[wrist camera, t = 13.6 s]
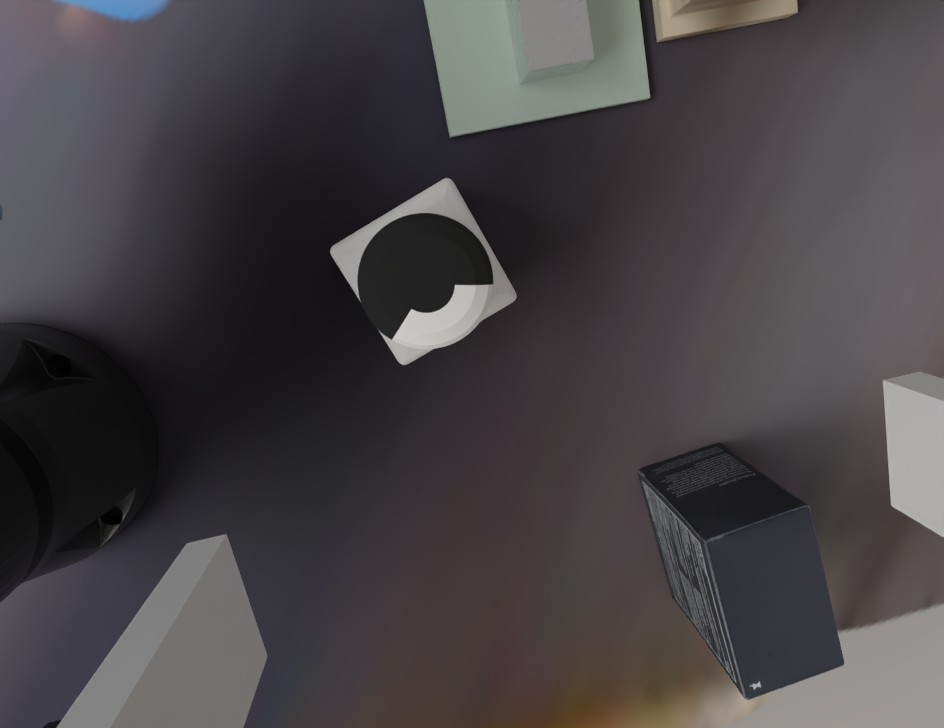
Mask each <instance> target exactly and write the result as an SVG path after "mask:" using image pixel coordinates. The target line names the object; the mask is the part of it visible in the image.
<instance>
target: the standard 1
mask: <svg viewBox="0 0 944 728" xmlns="http://www.w3.org/2000/svg"><path fill="white" fill-rule="evenodd" d="M652 4H653V13H654V21H655V30H656V39H657V43H658V42H663V41H668V40H673V39H679V38H684V37H689V36H694V35H700V34H705V33H710V32H715V31H721V30H726V29H731V28H736V27H742V26H747V25H752V24H757V23H763V22H768V21H773V20H779V19H784V18H788V17H790V16H792V15H794V14H796V13H798V7H797V0H652Z"/></svg>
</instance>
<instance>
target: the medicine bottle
mask: <svg viewBox="0 0 944 728" xmlns="http://www.w3.org/2000/svg"><path fill="white" fill-rule="evenodd" d="M330 253H331V256H332V257H333V259H334V261H335V262H336V264H337V265H338V267H339V269H340V270H341V272H342V273H343V275H344V276H345V278H346V280H347V281H348V283H349V284H350V286H351V288H352V289H353V291H354V292H355V294H356V295H357V297H358V299H359V300H360V302H361V304H362V306H363V309H364V311H365V313H366V315H367V316H368V318H369V319H370V321H371V322H372V323H373V325H374V326H375V327H376V328H377V329H378V330H379V332H380V333H381V335H382V337H383V338H384V340H385V341H386V343H387V345H388V346H389V348H390V349H391V351H392V353H393V354H394V356H395V357H396V359H397V360H398V362H399V363H400V364H402V365H407V364H409V363H411V362H413V361H414V360H416V359H418V358H419V357H421V356H423V355H424V354H426V353H428V352H429V351H431V350H433V349H435V348H440V347H445V346H448V345H450V344H453V343H455V342H457V341H459V340H461V339H462V338H464V337H465V336H467V335H468V334H469V333H470V332H471V331H472V330H473V329H474V328H476V326H477V325H478V324H479V323H480V321H482V320H484V319H485V318H487V317H489V316H490V315H492V314H494V313H496V312H497V311H499V310H501V309H502V308H504V307H506V306H507V305H509V304H511V303H512V302H514V301H515V300H516V297H517V295H516V292H515V290H514V288H513V286H512V285H511V283H510V281H509V279H508V278H507V276H506V274H505V272H504V271H503V269H502V267H501V265H500V263H499V262H498V260H497V258H496V256H495V255H494V253H493V251H492V249H491V248H490V246H489V244H488V242H487V240H486V239H485V237H484V235H483V233H482V232H481V230H480V228H479V226H478V225H477V223H476V221H475V219H474V217H473V216H472V214H471V212H470V210H469V209H468V207H467V205H466V203H465V202H464V200H463V198H462V196H461V194H460V193H459V191H458V189H457V187H456V186H455V184H454V182H453V181H452V180H451V179H448V178H445V179H442V180H441V181H439V182H438V183H436V184H434V185H433V186H431V187H429V188H428V189H426V190H424V191H423V192H421V193H419V194H418V195H416V196H414V197H413V198H411V199H409V200H408V201H406V202H404V203H403V204H401V205H399V206H398V207H396V208H394V209H393V210H391V211H389V212H388V213H386V214H384V215H383V216H381V217H379V218H378V219H376V220H374V221H373V222H371V223H369V224H368V225H366V226H365V227H363V228H361V229H360V230H358V231H356V232H355V233H353V234H351V235H350V236H348V237H346V238H345V239H343V240H341V241H340V242H338V243H336V244H335V245H333V246H332V247H331V250H330Z"/></svg>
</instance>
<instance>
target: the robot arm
mask: <svg viewBox="0 0 944 728" xmlns="http://www.w3.org/2000/svg"><path fill="white" fill-rule="evenodd" d="M2 211H3V210H2V208H1V205H0V220H2ZM883 389H884V404H885V420H886V435H887V451H888V466H889V482H890V497H891V506H892V507H894V508H896V509H897V510H899V511H901V512H902V513H904V514H906V515H907V516H909V517H911V518H912V519H914V520H915V521H917V522H919V523H920V524H922V525H924V526H925V527H927V528H929V529H930V530H932V531H934V532H935V533H937V534H939V535H940V536H942V537H944V379H943V378H939V377H936V376H933V375H929V374H926V373H923V372H916V373H912V374H907V375H903V376H899V377H894V378H890V379H886V380H883ZM157 463H158V443H157V435H156V430H155V426H154V422H153V419H152V416H151V413H150V411H149V409H148V406H147V404H146V402H145V400H144V398H143V397H142V395H141V393H140V392H139V390H138V388H137V387H136V386H135V384H134V383H133V382H132V380H131V379H130V378H129V377H128V375H127V374H126V373H125V372H124V371H123V370H122V369H121V368H120V367H119V366H118V365H117V364H116V363H115V362H114V361H113V360H111V359H110V358H109V357H108V356H106V355H105V354H104V353H103V352H101V351H100V350H98V349H97V348H95V347H94V346H92V345H90V344H88V343H87V342H85V341H83V340H81V339H79V338H77V337H75V336H72V335H70V334H67V333H65V332H62V331H59V330H56V329H52V328H48V327H43V326H38V325H31V324H18V323H9V324H0V602H2V601H3V600H4V599H5V598H6V597H7V596H8V595H9V594H10V593H11V592H12V591H13V590H14V589H15V588H16V587H17V586H18V585H20V584H21V583H23V582H26V581H29V580H31V579H34V578H37V577H39V576H42V575H45V574H47V573H50V572H53V571H55V570H58V569H61V568H63V567H66V566H69V565H71V564H74V563H76V562H79V561H81V560H83V559H85V558H87V557H88V556H90V555H92V554H93V553H95V552H97V551H98V550H99V549H101V548H102V547H104V546H105V545H106V544H108V543H109V542H110V541H111V540H112V539H113V538H114V537H116V536H117V535H118V534H119V533H120V532H121V531H122V529H123V528H124V527H125V526H126V525H127V524H128V523H129V522H130V521H131V520H132V519H133V518H134V517H135V516H136V514H137V513H138V512H139V510H140V509H141V508H142V506H143V504H144V503H145V501H146V499H147V497H148V495H149V493H150V491H151V488H152V486H153V482H154V479H155V475H156V470H157ZM266 659H267V654H266V651H265V648H264V645H263V642H262V639H261V636H260V633H259V630H258V627H257V624H256V621H255V618H254V615H253V612H252V609H251V606H250V603H249V600H248V597H247V594H246V591H245V588H244V585H243V582H242V579H241V576H240V573H239V570H238V567H237V564H236V561H235V558H234V555H233V552H232V549H231V546H230V543H229V540H228V537H227V534H225V535H220V536H216V537H212V538H208V539H203V540H199V541H195V542H191V543H187V544H186V545H185V547H184V548H183V549H182V551H181V552H180V554H179V555H178V556H177V558H176V559H175V561H174V562H173V563H172V565H171V566H170V568H169V569H168V571H167V572H166V573H165V575H164V576H163V578H162V579H161V580H160V582H159V583H158V585H157V586H156V588H155V589H154V590H153V592H152V593H151V595H150V596H149V597H148V599H147V600H146V602H145V603H144V604H143V606H142V607H141V609H140V610H139V612H138V613H137V614H136V616H135V617H134V619H133V620H132V621H131V623H130V624H129V626H128V627H127V629H126V630H125V631H124V633H123V634H122V636H121V637H120V638H119V640H118V641H117V643H116V644H115V645H114V647H113V648H112V650H111V651H110V653H109V654H108V655H107V657H106V658H105V660H104V661H103V662H102V664H101V665H100V667H99V668H98V670H97V671H96V672H95V674H94V675H93V677H92V678H91V679H90V681H89V682H88V684H87V685H86V686H85V688H84V689H83V691H82V692H81V694H80V695H79V696H78V698H77V699H76V701H75V702H74V703H73V705H72V706H71V708H70V709H69V711H68V712H67V713H66V715H65V716H64V718H63V719H62V720H59V721H55V722H50V723H47V724H46V725H45V726H44V727H43V728H243V727H244V724H245V721H246V718H247V715H248V712H249V709H250V706H251V703H252V700H253V697H254V694H255V691H256V688H257V685H258V683H259V680H260V677H261V674H262V671H263V668H264V665H265V662H266Z"/></svg>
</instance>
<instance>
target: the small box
mask: <svg viewBox="0 0 944 728" xmlns="http://www.w3.org/2000/svg"><path fill="white" fill-rule="evenodd" d="M638 476H639V479H640V482H641V487H642V490H643V494H644V498H645V501H646V505H647V508H648V512H649V517H650V519H651V523H652V527H653V530H654V534H655V537H656V541H657V544H658V549H659V553H660V556H661V559H662V563H663V566H664V570H665V573H666V577H667V580H668V583H669V587H670V590H671V594H672V598H673V599H674V600H675V601H676V603H677V604H678V605H679V607H680V608H681V609H682V611H683V612H684V613H685V615H686V616H687V617H688V619H689V620H690V621H691V622H692V624H693V626H694V627H695V628H696V630H697V631H698V632H699V634H700V635H701V636H702V638H703V639H704V640H705V642H706V644H707V646H708V647H709V649H710V650H711V651H712V653H713V654H714V656H715V657H716V658H717V660H718V661H719V662H720V664H721V666H722V667H723V668H724V670H725V671H726V673H727V674H728V675H729V677H730V678H731V680H732V681H733V683H734V684H735V685H736V687H737V688H738V689H739V691H740V693H741V694H742V695H743V697H744V698H745V699H747V700H750V699H753V698H756V697H758V696H761V695H764V694H766V693H769V692H771V691H775V690H777V689H780V688H783V687H785V686H788V685H791V684H794V683H797V682H799V681H803V680H805V679H808V678H810V677H814V676H816V675H819V674H822V673H825V672H827V671H830V670H833V669H835V668H838V667H841V666H843V665H844V659H843V655H842V651H841V646H840V641H839V637H838V633H837V628H836V624H835V619H834V615H833V610H832V606H831V601H830V597H829V592H828V588H827V583H826V579H825V574H824V569H823V565H822V560H821V555H820V551H819V546H818V541H817V537H816V532H815V527H814V523H813V517H812V513H811V508H810V506H809V505H807V504H805V503H804V502H803V501H801V500H800V499H798V498H797V497H795V496H794V495H793V494H791V493H790V492H788V491H787V490H785V489H784V488H783V487H781V486H780V485H778V484H777V483H775V482H774V481H773V480H771V479H770V478H768V477H767V476H766V475H764V474H763V473H761V472H760V471H758V470H757V469H756V468H754V467H753V466H751V465H750V464H749V463H747V462H746V461H745V460H743V459H742V458H740V457H739V456H738V455H736V454H735V453H733V452H732V451H731V450H729V449H728V448H726V447H725V446H724V445H722V444H721V443H717V444H714V445H711V446H708V447H704V448H701V449H698V450H696V451H692V452H689V453H686V454H683V455H680V456H677V457H674V458H671V459H668V460H666V461H662V462H660V463H656V464H654V465H651V466H648V467H644V468H642V469H640V470H639V471H638Z"/></svg>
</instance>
